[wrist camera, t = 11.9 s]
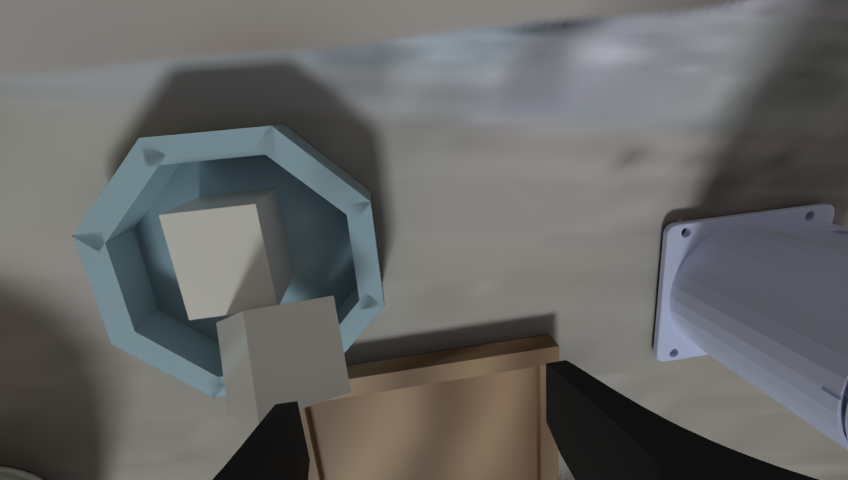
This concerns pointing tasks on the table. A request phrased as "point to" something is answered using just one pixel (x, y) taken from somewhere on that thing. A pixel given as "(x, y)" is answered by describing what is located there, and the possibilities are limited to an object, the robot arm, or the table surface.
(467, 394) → the tray
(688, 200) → the table surface
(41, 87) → the table surface
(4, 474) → the lidded jar
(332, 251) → the bowl
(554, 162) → the table surface
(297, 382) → the sharp-edged grey cuboid
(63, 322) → the table surface
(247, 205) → the light grey block
